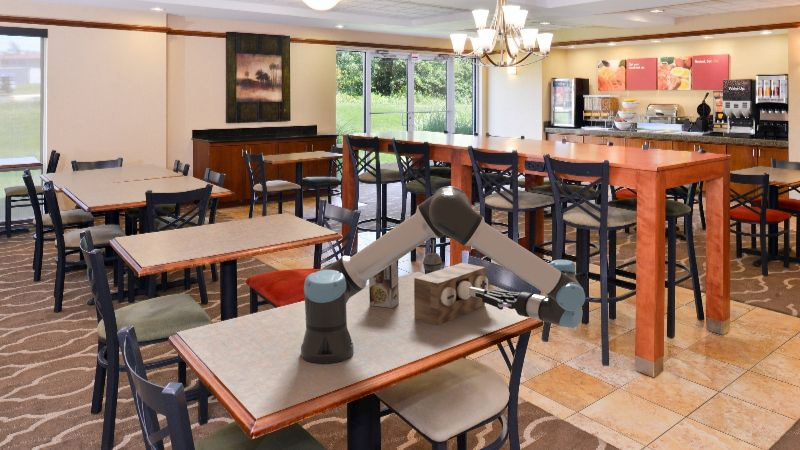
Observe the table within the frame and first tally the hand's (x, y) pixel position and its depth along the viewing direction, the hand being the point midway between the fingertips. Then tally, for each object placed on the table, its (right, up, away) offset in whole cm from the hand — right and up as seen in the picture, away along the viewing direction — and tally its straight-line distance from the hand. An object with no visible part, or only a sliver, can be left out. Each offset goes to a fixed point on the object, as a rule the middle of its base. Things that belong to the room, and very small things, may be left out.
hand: (470, 291), depth 214 cm
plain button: (-2, -3, +2) cm, 4 cm away
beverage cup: (-11, -4, +29) cm, 32 cm away
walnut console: (-5, -8, +7) cm, 12 cm away
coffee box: (-29, -7, +16) cm, 34 cm away
